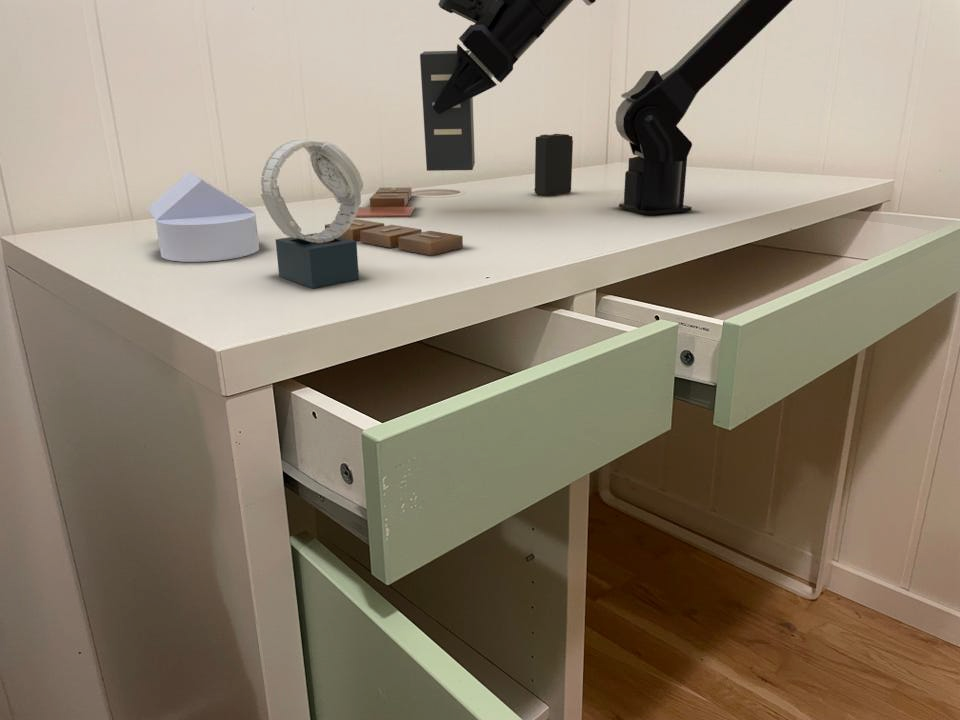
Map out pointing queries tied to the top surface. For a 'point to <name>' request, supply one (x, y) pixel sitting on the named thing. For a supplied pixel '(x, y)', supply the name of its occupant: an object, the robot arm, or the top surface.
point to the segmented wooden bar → (402, 237)
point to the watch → (323, 252)
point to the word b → (388, 203)
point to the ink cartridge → (553, 164)
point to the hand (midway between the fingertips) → (436, 110)
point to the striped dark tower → (445, 117)
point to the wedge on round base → (203, 223)
